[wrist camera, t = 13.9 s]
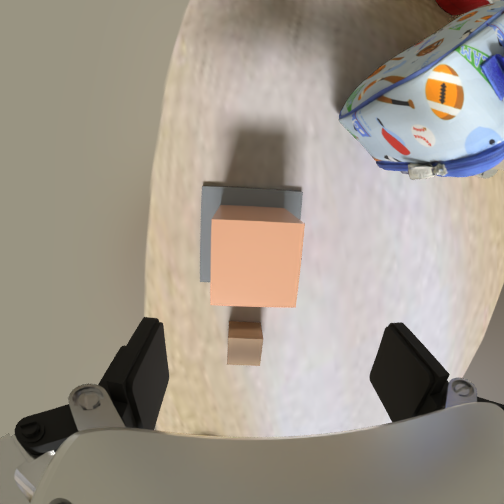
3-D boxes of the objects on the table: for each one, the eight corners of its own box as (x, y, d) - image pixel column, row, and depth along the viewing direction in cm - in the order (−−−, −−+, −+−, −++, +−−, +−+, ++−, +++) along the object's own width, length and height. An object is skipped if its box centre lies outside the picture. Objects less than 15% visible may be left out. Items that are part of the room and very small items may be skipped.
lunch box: (367, 192, 31) (517, 230, 10) (310, 126, 29) (429, 60, 8) (466, 83, 27) (571, 63, 6) (425, 29, 25) (520, -21, 3)
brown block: (229, 320, 35) (228, 337, 31) (260, 322, 35) (263, 339, 31) (227, 346, 36) (227, 364, 32) (257, 347, 36) (259, 365, 32)
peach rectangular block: (220, 204, 30) (211, 219, 21) (284, 208, 31) (304, 223, 21) (218, 266, 32) (210, 305, 23) (279, 268, 33) (295, 307, 23)
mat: (202, 186, 30) (202, 186, 30) (301, 191, 31) (302, 192, 30) (200, 279, 33) (200, 281, 33) (292, 283, 34) (293, 285, 33)
